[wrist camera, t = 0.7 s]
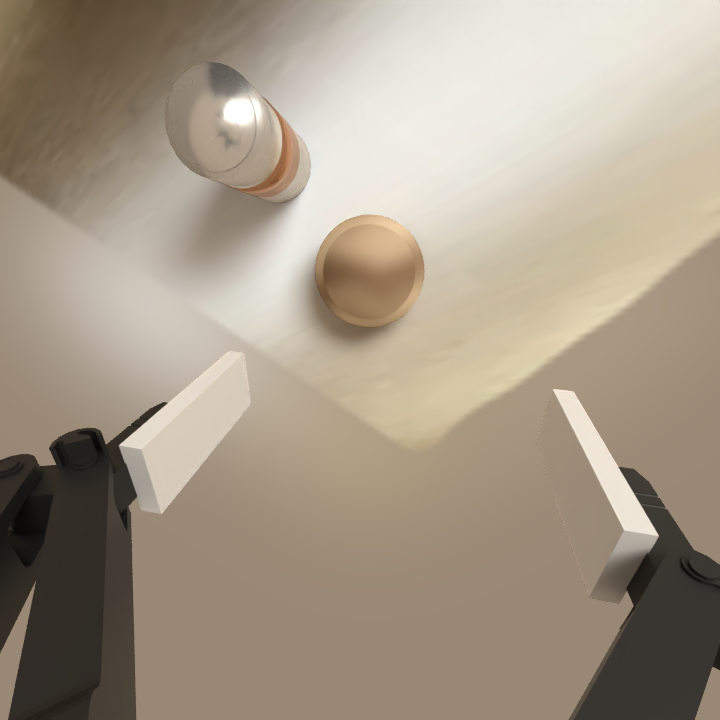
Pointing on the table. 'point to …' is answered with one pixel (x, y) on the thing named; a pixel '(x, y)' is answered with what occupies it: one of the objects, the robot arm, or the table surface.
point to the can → (234, 134)
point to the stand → (369, 270)
